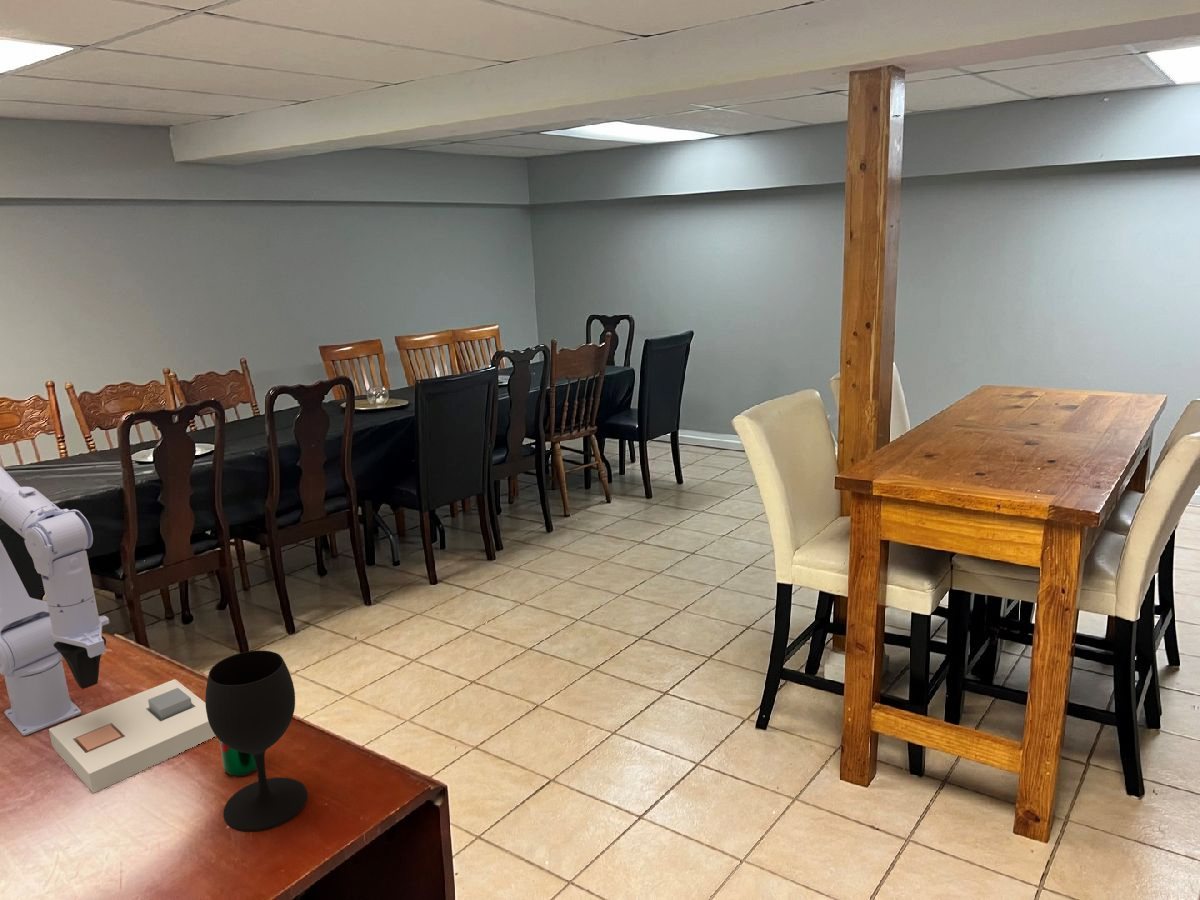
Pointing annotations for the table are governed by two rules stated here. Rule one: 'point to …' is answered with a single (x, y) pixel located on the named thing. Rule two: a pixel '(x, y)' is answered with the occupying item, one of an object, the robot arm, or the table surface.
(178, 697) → the slate key
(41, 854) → the table surface
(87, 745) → the terracotta key
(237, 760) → the soda can
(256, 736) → the wine glass
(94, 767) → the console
